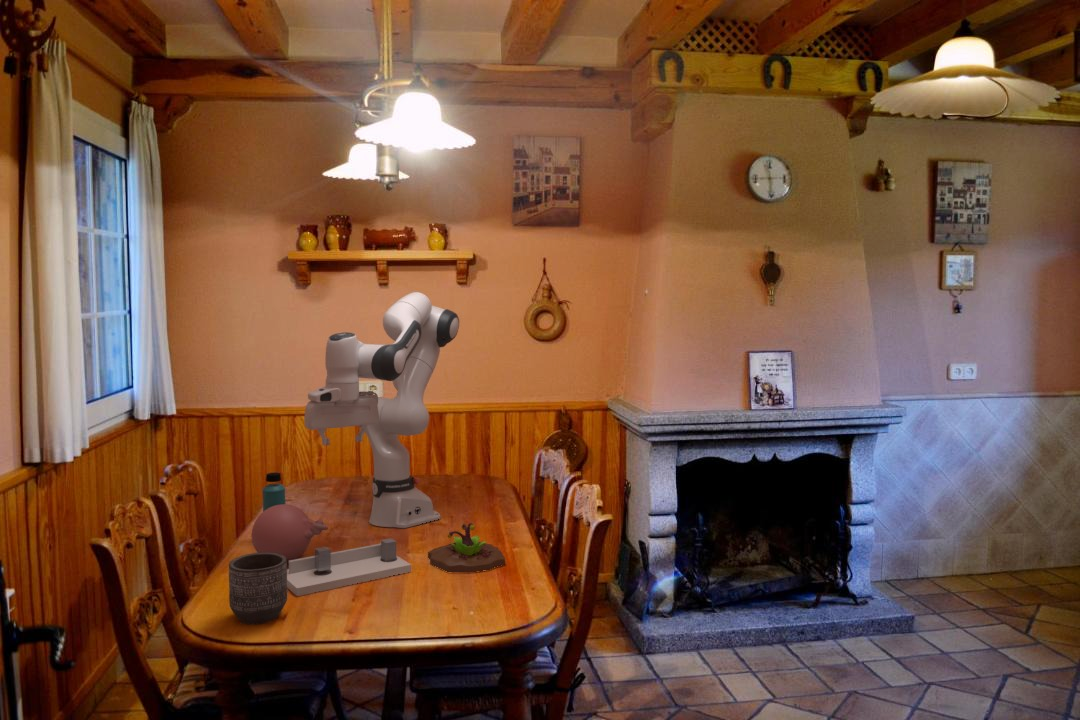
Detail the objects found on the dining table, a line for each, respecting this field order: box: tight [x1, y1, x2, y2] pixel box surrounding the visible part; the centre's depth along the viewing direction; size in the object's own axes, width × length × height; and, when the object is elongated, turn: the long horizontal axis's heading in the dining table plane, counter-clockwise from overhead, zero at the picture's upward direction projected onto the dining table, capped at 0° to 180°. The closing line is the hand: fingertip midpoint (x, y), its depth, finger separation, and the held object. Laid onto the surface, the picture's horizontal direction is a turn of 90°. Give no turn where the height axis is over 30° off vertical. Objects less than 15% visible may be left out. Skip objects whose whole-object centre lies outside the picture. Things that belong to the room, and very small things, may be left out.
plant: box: [427, 522, 506, 573], centre depth 218 cm, size 20×20×11 cm
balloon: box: [251, 504, 329, 563], centre depth 215 cm, size 15×20×15 cm
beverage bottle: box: [262, 471, 287, 512], centre depth 232 cm, size 6×7×20 cm
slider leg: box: [314, 546, 332, 571], centre depth 202 cm, size 3×4×5 cm, turn 36°
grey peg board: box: [287, 538, 412, 597], centre depth 205 cm, size 30×14×7 cm, turn 126°
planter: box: [228, 552, 288, 625], centre depth 178 cm, size 12×12×13 cm
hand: (342, 443), depth 219 cm, fingers open, 8 cm apart
